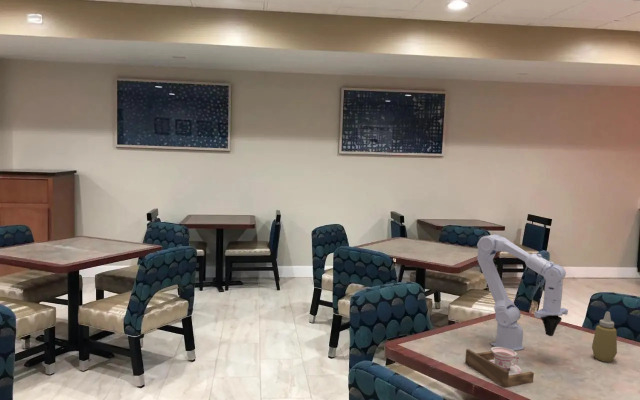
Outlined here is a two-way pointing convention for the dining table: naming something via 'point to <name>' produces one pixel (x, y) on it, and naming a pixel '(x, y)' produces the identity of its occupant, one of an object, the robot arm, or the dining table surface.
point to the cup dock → (495, 369)
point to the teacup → (505, 359)
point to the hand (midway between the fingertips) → (549, 335)
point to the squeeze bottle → (605, 340)
